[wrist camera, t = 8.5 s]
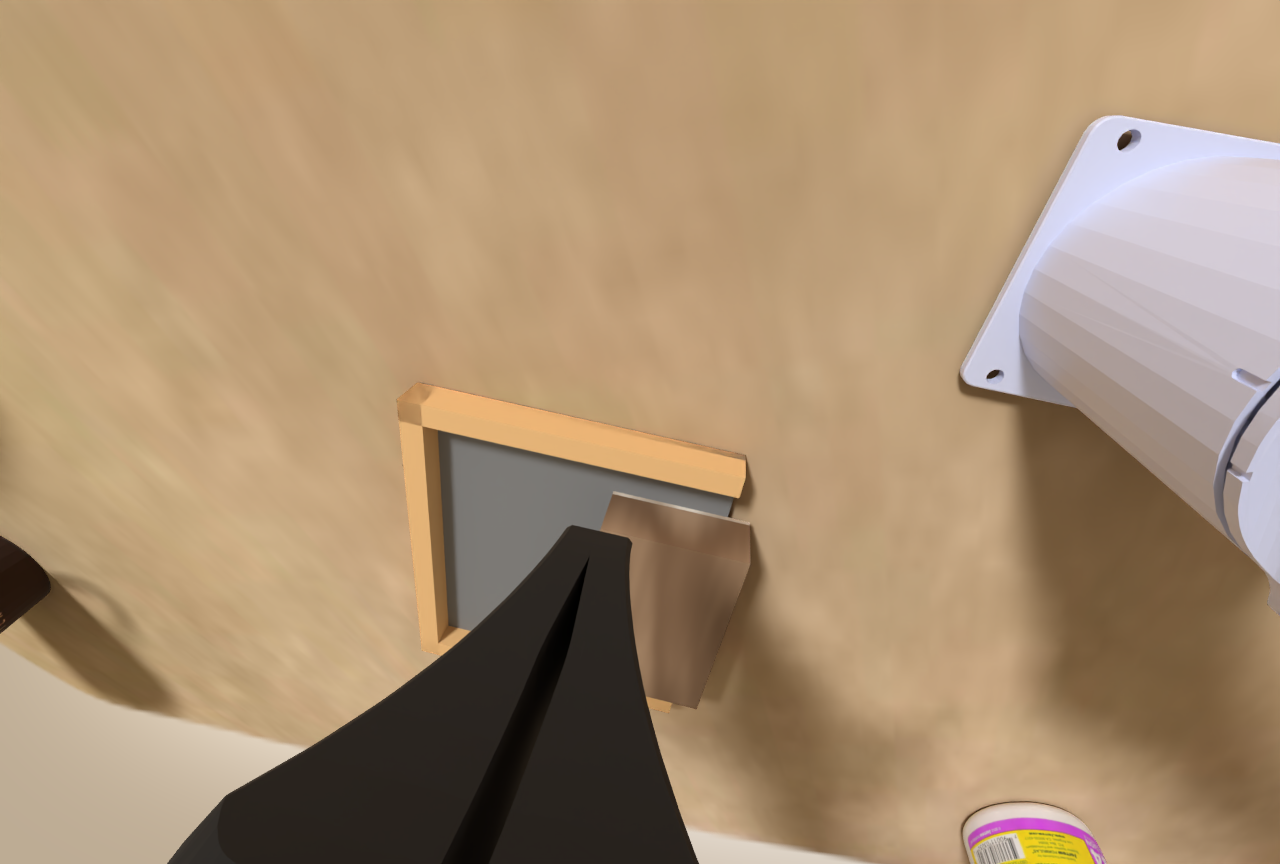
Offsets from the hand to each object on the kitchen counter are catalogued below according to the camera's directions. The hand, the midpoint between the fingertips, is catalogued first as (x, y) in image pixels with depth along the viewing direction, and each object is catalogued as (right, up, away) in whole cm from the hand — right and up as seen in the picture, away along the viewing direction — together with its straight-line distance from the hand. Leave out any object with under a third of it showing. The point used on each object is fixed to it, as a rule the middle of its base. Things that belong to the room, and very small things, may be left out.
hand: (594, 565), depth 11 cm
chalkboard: (-3, -3, +15) cm, 15 cm away
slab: (+5, -6, +13) cm, 15 cm away
